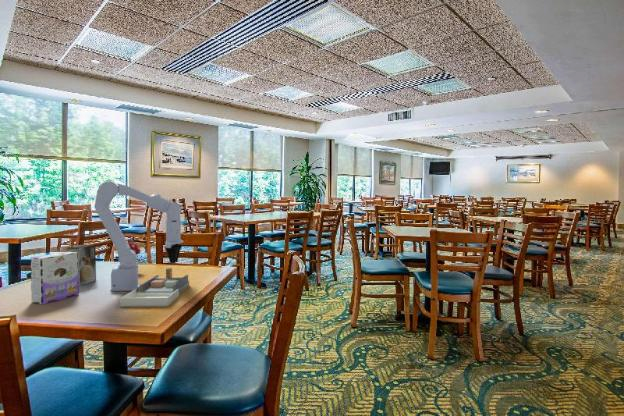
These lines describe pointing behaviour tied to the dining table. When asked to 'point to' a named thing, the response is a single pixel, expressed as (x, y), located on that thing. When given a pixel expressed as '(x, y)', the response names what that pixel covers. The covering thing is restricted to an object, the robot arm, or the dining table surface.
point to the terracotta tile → (157, 283)
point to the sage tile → (170, 283)
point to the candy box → (54, 277)
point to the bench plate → (180, 285)
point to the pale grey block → (168, 276)
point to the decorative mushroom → (134, 247)
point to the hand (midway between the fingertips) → (173, 262)
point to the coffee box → (85, 263)
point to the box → (148, 299)
